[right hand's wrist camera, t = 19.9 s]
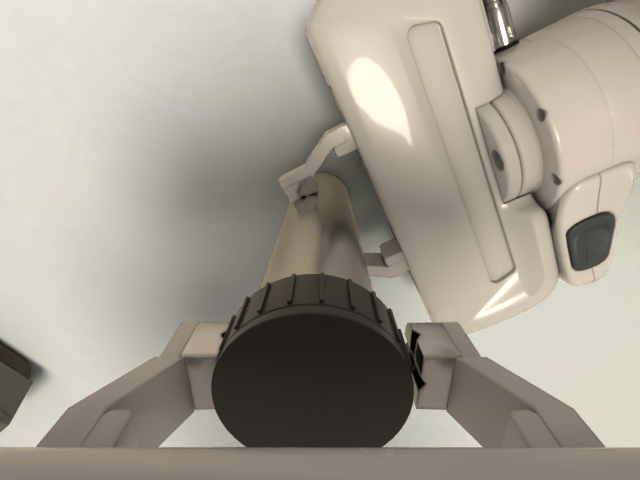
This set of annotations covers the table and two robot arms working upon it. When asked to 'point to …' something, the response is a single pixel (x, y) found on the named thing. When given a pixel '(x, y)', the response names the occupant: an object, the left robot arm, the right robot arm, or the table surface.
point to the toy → (12, 384)
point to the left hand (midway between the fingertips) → (307, 231)
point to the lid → (313, 367)
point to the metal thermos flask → (320, 237)
